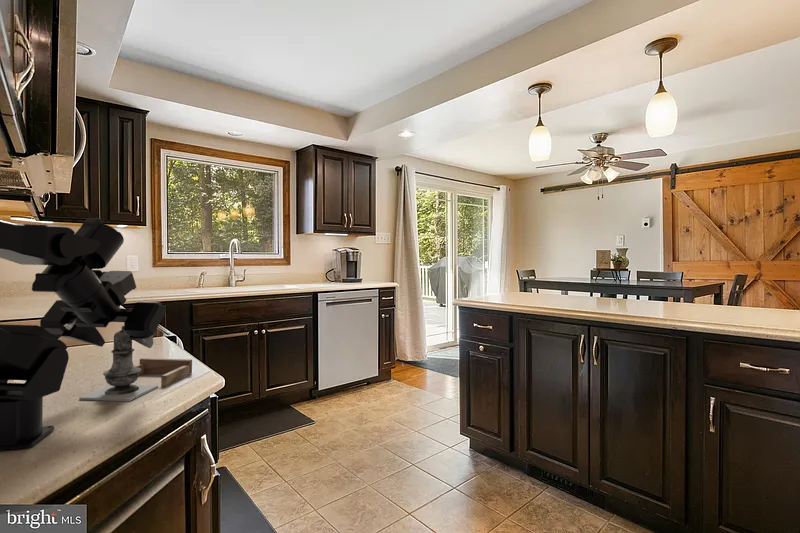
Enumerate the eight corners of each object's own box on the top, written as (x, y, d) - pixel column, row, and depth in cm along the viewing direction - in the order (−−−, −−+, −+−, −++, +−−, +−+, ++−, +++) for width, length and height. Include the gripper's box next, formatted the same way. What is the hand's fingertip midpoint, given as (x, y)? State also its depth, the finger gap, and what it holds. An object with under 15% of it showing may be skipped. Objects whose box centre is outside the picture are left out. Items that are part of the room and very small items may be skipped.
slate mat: (130, 401, 72) (130, 398, 72) (79, 399, 72) (79, 397, 72) (158, 387, 80) (158, 385, 80) (112, 386, 80) (112, 384, 80)
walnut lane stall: (166, 386, 81) (166, 370, 81) (111, 384, 81) (111, 369, 81) (191, 373, 90) (192, 359, 90) (142, 371, 91) (142, 358, 91)
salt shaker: (122, 396, 73) (123, 328, 73) (94, 394, 74) (95, 327, 74) (148, 387, 79) (149, 324, 79) (122, 384, 80) (123, 322, 80)
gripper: (160, 256, 72) (193, 312, 83) (55, 253, 72) (101, 310, 83) (129, 306, 64) (169, 360, 75) (11, 303, 64) (68, 358, 76)
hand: (127, 345), depth 77 cm, fingers open, 9 cm apart
